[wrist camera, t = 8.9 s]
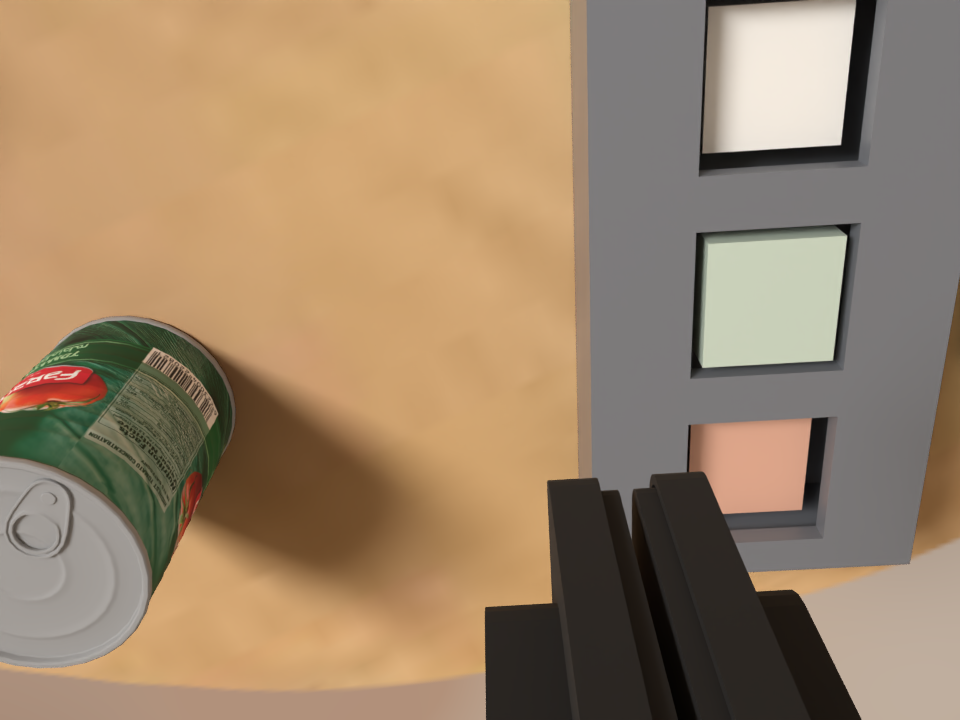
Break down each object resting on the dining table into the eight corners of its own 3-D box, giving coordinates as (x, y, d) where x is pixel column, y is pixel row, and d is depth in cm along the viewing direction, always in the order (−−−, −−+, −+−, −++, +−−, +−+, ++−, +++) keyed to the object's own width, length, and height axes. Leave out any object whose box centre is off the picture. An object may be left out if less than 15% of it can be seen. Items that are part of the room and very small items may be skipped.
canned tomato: (197, 510, 40) (102, 703, 30) (20, 436, 38) (-143, 615, 28) (266, 366, 37) (186, 527, 27) (77, 280, 35) (-82, 417, 25)
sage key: (692, 222, 31) (708, 244, 29) (821, 214, 31) (847, 235, 29) (687, 339, 33) (702, 367, 31) (809, 332, 33) (832, 360, 31)
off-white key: (691, 1, 29) (708, 7, 27) (828, -8, 29) (856, -4, 27) (687, 138, 31) (702, 153, 29) (815, 130, 31) (840, 144, 29)
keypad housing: (569, -53, 30) (585, -50, 25) (933, -78, 30) (1021, -80, 25) (579, 501, 39) (593, 579, 35) (857, 486, 39) (909, 563, 34)
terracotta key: (678, 386, 35) (691, 416, 33) (792, 380, 35) (812, 409, 33) (675, 481, 37) (686, 515, 35) (783, 476, 37) (801, 510, 35)
